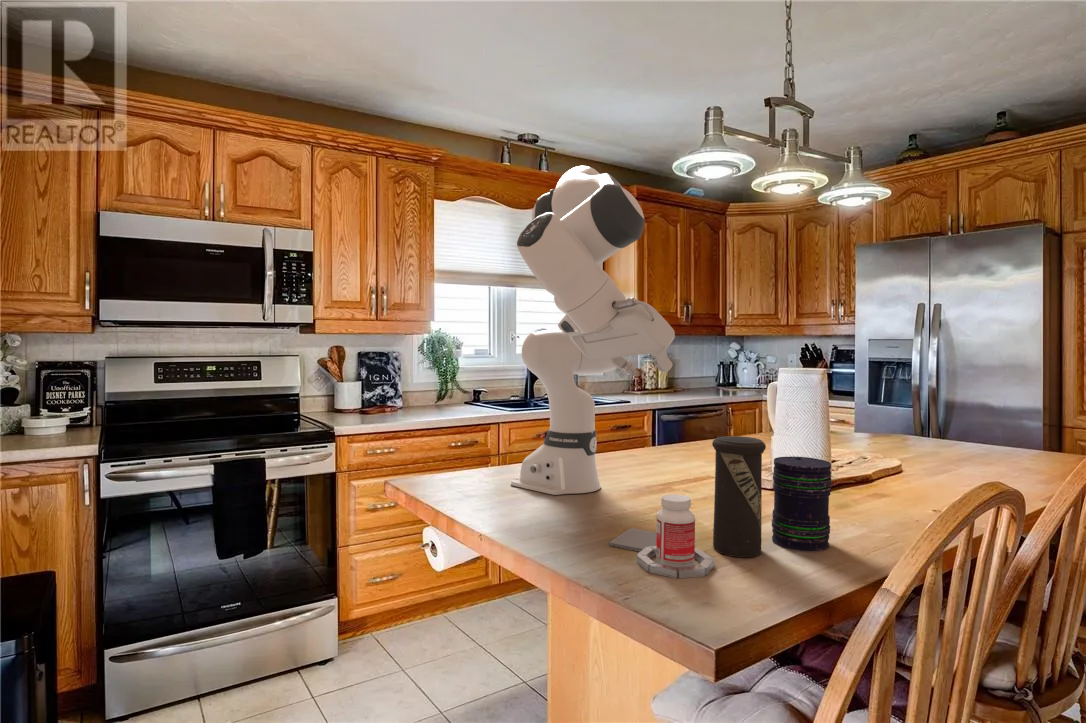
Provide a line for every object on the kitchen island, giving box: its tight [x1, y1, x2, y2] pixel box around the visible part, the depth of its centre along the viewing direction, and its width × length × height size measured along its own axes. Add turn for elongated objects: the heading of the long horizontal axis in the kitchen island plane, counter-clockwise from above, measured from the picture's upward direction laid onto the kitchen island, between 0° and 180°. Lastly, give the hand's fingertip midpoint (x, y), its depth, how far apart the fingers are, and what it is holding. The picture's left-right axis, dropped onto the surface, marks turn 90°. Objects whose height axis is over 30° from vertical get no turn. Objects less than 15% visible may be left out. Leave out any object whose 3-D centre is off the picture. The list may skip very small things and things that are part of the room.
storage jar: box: [771, 456, 832, 553], centre depth 113 cm, size 10×10×15 cm
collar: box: [636, 546, 715, 579], centre depth 102 cm, size 12×12×1 cm
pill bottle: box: [655, 494, 696, 567], centre depth 102 cm, size 6×6×11 cm
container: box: [711, 435, 767, 558], centre depth 109 cm, size 9×9×20 cm
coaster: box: [608, 527, 657, 553], centre depth 113 cm, size 10×10×1 cm
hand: (648, 370), depth 101 cm, fingers open, 8 cm apart
